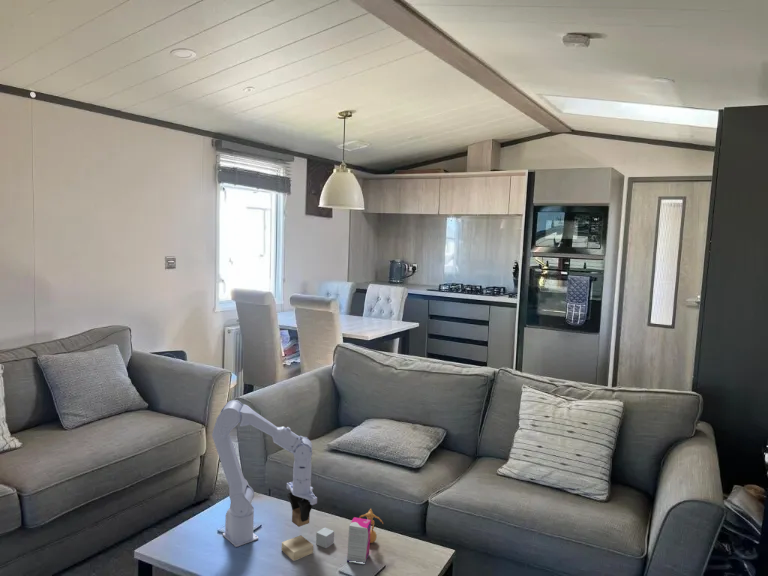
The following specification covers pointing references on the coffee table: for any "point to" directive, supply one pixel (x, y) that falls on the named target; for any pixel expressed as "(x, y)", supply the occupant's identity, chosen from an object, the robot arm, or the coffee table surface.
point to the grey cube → (325, 537)
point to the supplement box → (359, 540)
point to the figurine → (370, 517)
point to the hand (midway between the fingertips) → (300, 517)
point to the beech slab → (297, 547)
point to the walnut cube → (298, 517)
